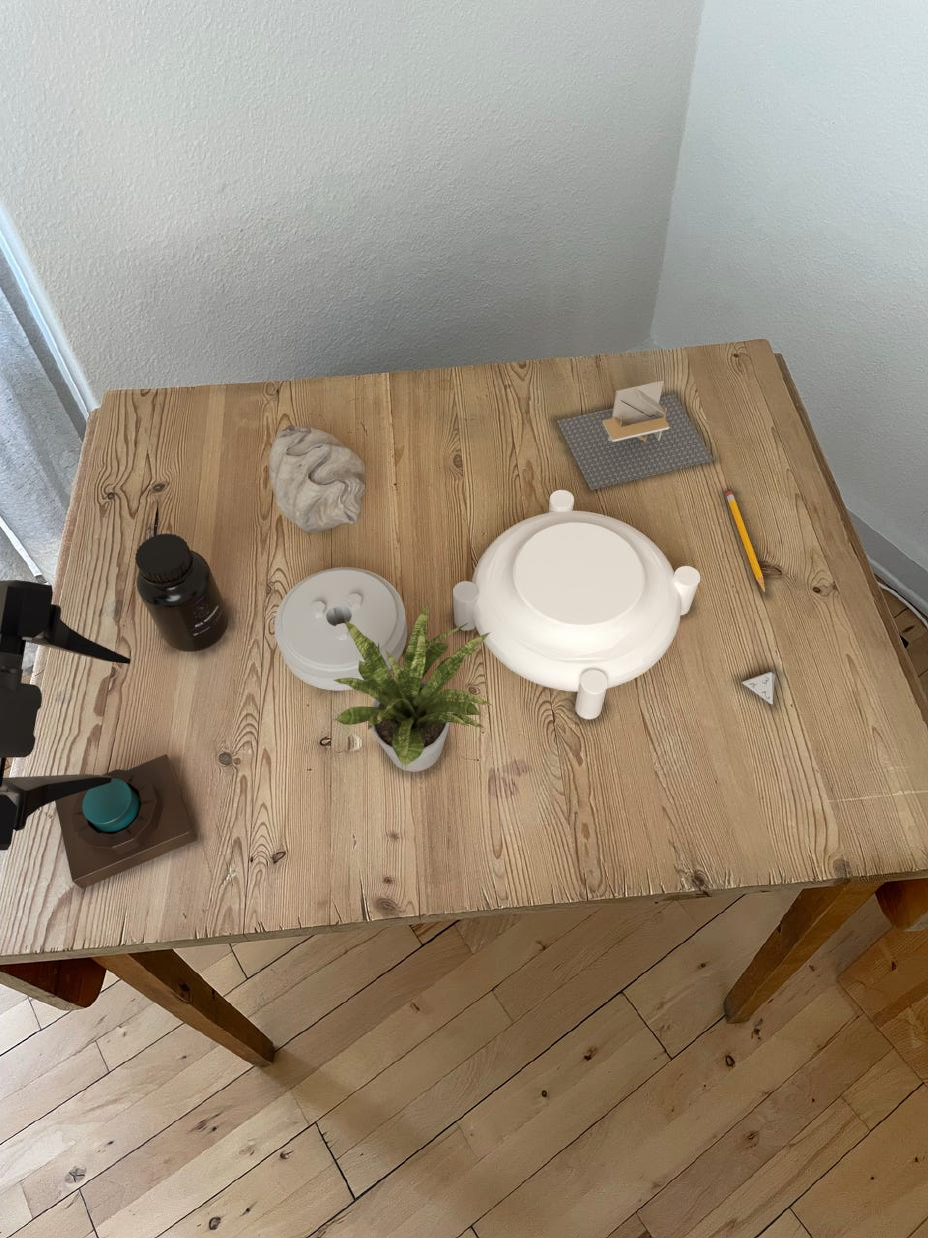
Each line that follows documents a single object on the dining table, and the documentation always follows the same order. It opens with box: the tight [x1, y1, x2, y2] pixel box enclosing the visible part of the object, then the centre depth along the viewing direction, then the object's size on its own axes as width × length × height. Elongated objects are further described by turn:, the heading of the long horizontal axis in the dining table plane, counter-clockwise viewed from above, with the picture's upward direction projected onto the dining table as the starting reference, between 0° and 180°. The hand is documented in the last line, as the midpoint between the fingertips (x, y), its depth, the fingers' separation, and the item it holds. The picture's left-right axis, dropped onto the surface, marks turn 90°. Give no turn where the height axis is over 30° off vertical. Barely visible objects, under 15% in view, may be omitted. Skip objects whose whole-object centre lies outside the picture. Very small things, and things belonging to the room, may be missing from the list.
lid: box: [273, 566, 408, 692], centre depth 85 cm, size 13×13×5 cm
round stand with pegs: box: [452, 489, 701, 720], centre depth 85 cm, size 24×24×7 cm
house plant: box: [332, 604, 492, 773], centre depth 73 cm, size 14×14×16 cm
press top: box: [83, 778, 139, 832], centre depth 73 cm, size 4×4×2 cm
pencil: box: [725, 490, 766, 593], centre depth 93 cm, size 1×13×1 cm, turn 6°
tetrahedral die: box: [741, 671, 776, 706], centre depth 83 cm, size 4×3×3 cm
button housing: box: [54, 753, 197, 890], centre depth 75 cm, size 10×8×4 cm
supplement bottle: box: [134, 532, 230, 653], centre depth 83 cm, size 7×7×12 cm
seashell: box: [268, 424, 367, 534], centre depth 92 cm, size 10×15×10 cm
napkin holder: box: [602, 380, 670, 444], centre depth 98 cm, size 3×7×7 cm, turn 106°
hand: (119, 719), depth 68 cm, fingers open, 9 cm apart
